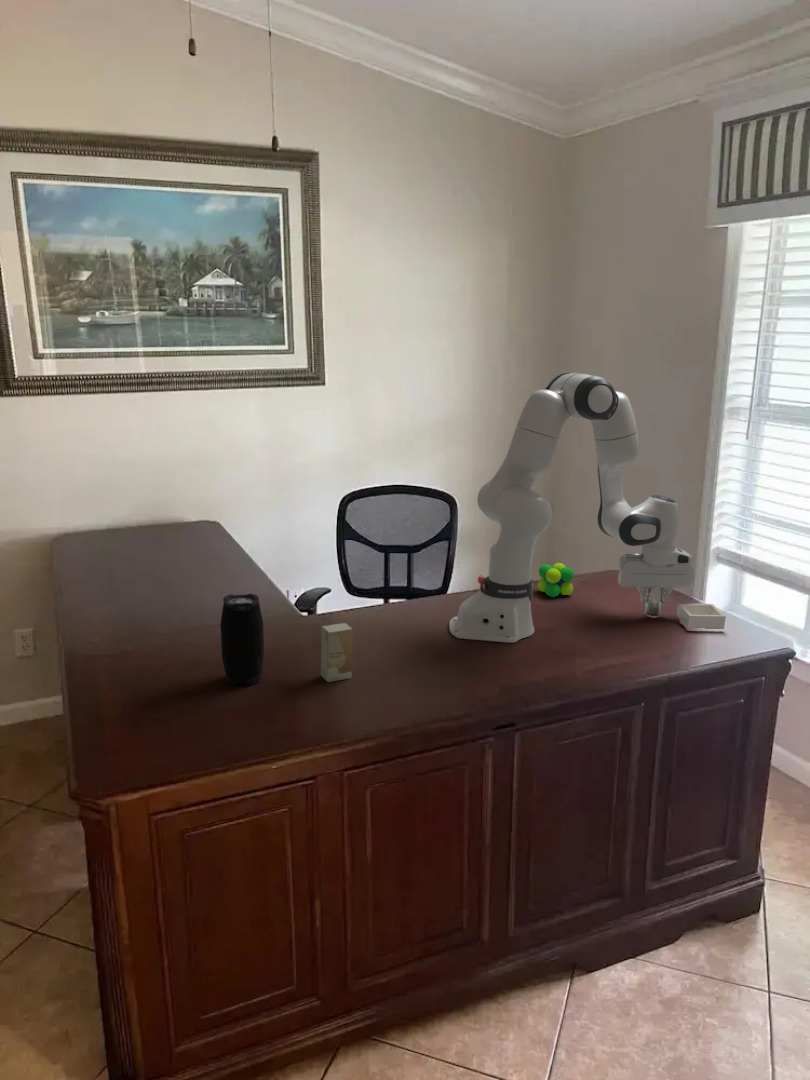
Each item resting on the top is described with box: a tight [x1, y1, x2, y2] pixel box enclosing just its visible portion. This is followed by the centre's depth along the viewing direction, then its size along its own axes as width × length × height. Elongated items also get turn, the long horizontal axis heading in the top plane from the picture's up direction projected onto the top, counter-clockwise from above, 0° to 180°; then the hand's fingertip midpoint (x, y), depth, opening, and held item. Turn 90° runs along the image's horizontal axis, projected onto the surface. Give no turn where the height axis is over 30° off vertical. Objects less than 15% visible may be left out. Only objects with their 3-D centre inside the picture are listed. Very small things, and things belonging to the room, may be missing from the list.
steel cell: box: [644, 586, 663, 616], centre depth 239 cm, size 4×4×10 cm
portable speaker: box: [220, 593, 265, 686], centre depth 193 cm, size 9×9×20 cm
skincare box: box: [320, 622, 354, 683], centre depth 197 cm, size 6×4×12 cm
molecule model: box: [537, 562, 575, 598], centre depth 257 cm, size 9×9×9 cm
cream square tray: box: [676, 603, 726, 630], centre depth 233 cm, size 10×10×4 cm
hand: (653, 601), depth 240 cm, fingers closed on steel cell, 4 cm apart
